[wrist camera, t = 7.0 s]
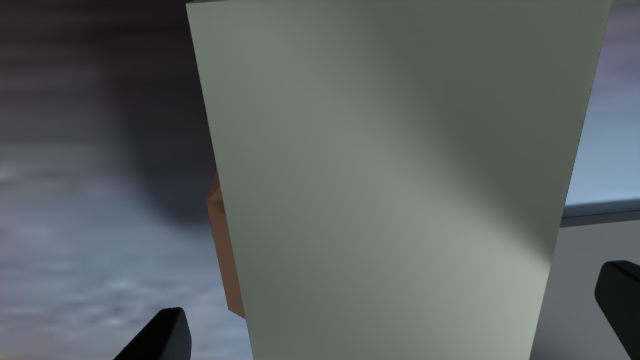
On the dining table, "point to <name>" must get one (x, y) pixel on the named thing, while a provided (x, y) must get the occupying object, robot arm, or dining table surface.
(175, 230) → the dining table surface
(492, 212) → the board
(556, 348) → the grey rectangular panel
